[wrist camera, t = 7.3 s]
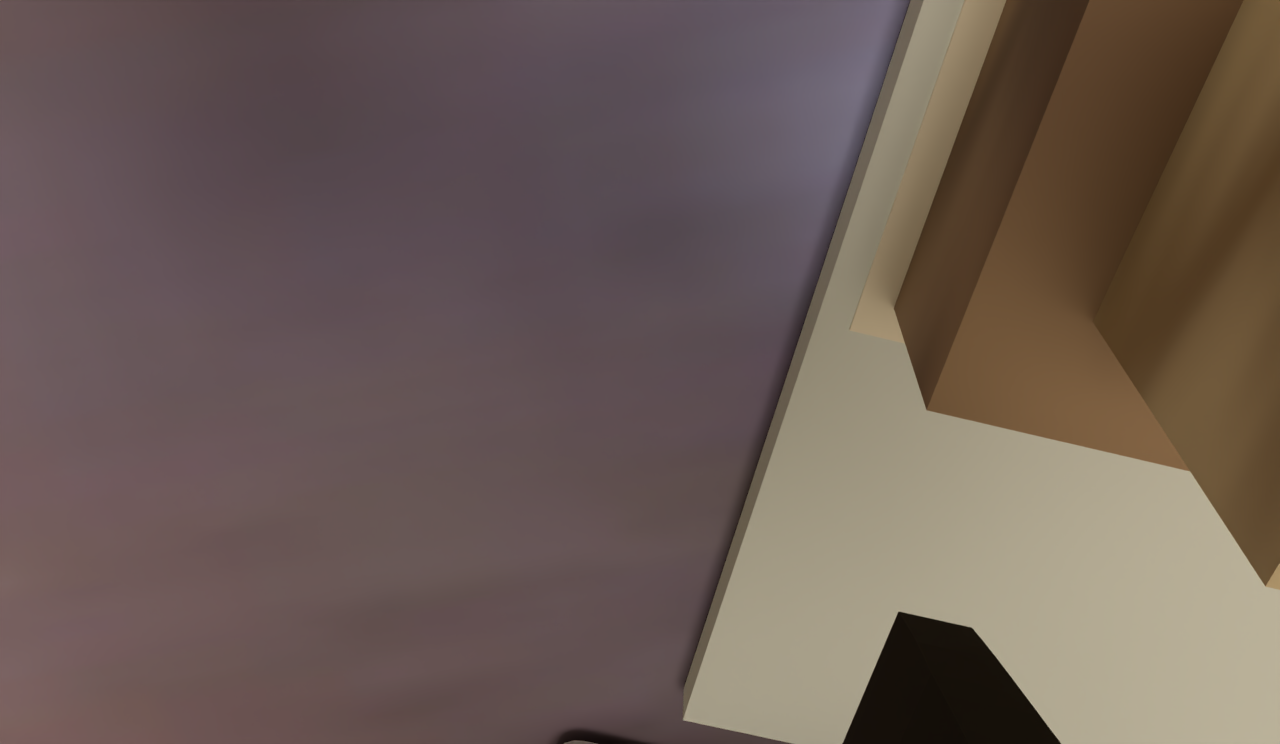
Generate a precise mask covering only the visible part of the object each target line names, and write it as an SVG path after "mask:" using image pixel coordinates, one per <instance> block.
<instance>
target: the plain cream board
mask: <svg viewBox="0 0 1280 744" xmlns="http://www.w3.org/2000/svg"><path fill="white" fill-rule="evenodd" d="M1005 3H1006V0H911V1H910V4H909V7H908V10H907V13H906V16H905V19H904V22H903V25H902V28H901V31H900V34H899V37H898V40H897V43H896V46H895V49H894V52H893V55H892V58H891V61H890V64H889V68H888V71H887V74H886V77H885V80H884V83H883V86H882V89H881V92H880V95H879V98H878V101H877V104H876V107H875V110H874V113H873V116H872V119H871V122H870V125H869V128H868V131H867V134H866V137H865V140H864V143H863V146H862V149H861V152H860V155H859V158H858V161H857V165H856V168H855V171H854V174H853V177H852V180H851V183H850V186H849V189H848V192H847V195H846V198H845V201H844V204H843V207H842V210H841V213H840V216H839V219H838V222H837V225H836V228H835V231H834V234H833V237H832V240H831V243H830V246H829V249H828V252H827V255H826V259H825V262H824V265H823V268H822V271H821V274H820V277H819V280H818V283H817V286H816V289H815V292H814V295H813V298H812V301H811V304H810V307H809V310H808V313H807V316H806V319H805V322H804V325H803V328H802V331H801V334H800V337H799V340H798V343H797V346H796V349H795V352H794V356H793V359H792V362H791V365H790V368H789V371H788V374H787V377H786V380H785V383H784V386H783V389H782V392H781V395H780V398H779V401H778V404H777V407H776V410H775V413H774V416H773V419H772V422H771V425H770V428H769V431H768V434H767V437H766V440H765V443H764V446H763V450H762V453H761V456H760V459H759V462H758V465H757V468H756V471H755V474H754V477H753V480H752V483H751V486H750V489H749V492H748V495H747V498H746V501H745V504H744V507H743V510H742V513H741V516H740V519H739V522H738V525H737V528H736V531H735V534H734V537H733V540H732V543H731V547H730V550H729V553H728V556H727V559H726V562H725V565H724V568H723V571H722V574H721V577H720V580H719V583H718V586H717V589H716V592H715V595H714V598H713V601H712V604H711V607H710V610H709V613H708V616H707V619H706V622H705V625H704V628H703V631H702V634H701V637H700V641H699V644H698V647H697V650H696V653H695V656H694V659H693V662H692V665H691V668H690V671H689V674H688V677H687V680H686V683H685V686H684V693H683V720H685V721H689V722H694V723H699V724H703V725H708V726H713V727H717V728H722V729H727V730H732V731H736V732H741V733H746V734H750V735H755V736H760V737H764V738H769V739H774V740H779V741H783V742H788V743H793V744H843V741H844V739H845V737H846V734H847V732H848V729H849V727H850V725H851V722H852V720H853V718H854V715H855V713H856V711H857V708H858V706H859V703H860V701H861V699H862V696H863V694H864V692H865V689H866V687H867V685H868V682H869V680H870V677H871V675H872V673H873V670H874V668H875V666H876V663H877V661H878V659H879V656H880V654H881V651H882V649H883V647H884V644H885V642H886V640H887V637H888V635H889V633H890V630H891V628H892V625H893V623H894V621H895V618H896V616H897V614H898V611H899V612H904V613H908V614H913V615H917V616H922V617H926V618H931V619H935V620H940V621H944V622H949V623H953V624H958V625H962V626H967V627H972V628H973V629H974V631H975V632H976V633H977V634H978V635H979V637H980V638H981V639H982V640H983V641H984V643H985V644H986V645H987V646H988V648H989V649H990V650H991V651H992V653H993V654H994V655H995V657H996V658H997V659H998V660H999V662H1000V663H1001V664H1002V666H1003V667H1004V668H1005V670H1006V671H1007V672H1008V674H1009V675H1010V676H1011V677H1012V679H1013V680H1014V681H1015V683H1016V684H1017V685H1018V687H1019V688H1020V689H1021V691H1022V692H1023V693H1024V695H1025V696H1026V697H1027V699H1028V700H1029V701H1030V703H1031V704H1032V705H1033V707H1034V708H1035V709H1036V711H1037V712H1038V713H1039V715H1040V716H1041V717H1042V719H1043V720H1044V721H1045V723H1046V724H1047V725H1048V727H1049V728H1050V729H1051V731H1052V732H1053V733H1054V735H1055V736H1056V737H1057V739H1058V740H1059V741H1060V743H1061V744H1280V590H1278V589H1274V588H1270V587H1265V585H1264V584H1263V582H1262V581H1261V579H1260V578H1259V576H1258V575H1257V573H1256V572H1255V570H1254V568H1253V567H1252V565H1251V564H1250V562H1249V561H1248V559H1247V558H1246V556H1245V555H1244V553H1243V552H1242V550H1241V549H1240V547H1239V545H1238V544H1237V542H1236V541H1235V539H1234V538H1233V536H1232V535H1231V533H1230V532H1229V530H1228V529H1227V527H1226V526H1225V524H1224V522H1223V521H1222V519H1221V518H1220V516H1219V515H1218V513H1217V512H1216V510H1215V509H1214V507H1213V506H1212V504H1211V503H1210V501H1209V499H1208V498H1207V496H1206V495H1205V493H1204V492H1203V490H1202V489H1201V487H1200V486H1199V484H1198V483H1197V481H1196V480H1195V478H1194V476H1193V475H1192V473H1191V472H1190V471H1186V470H1182V469H1177V468H1173V467H1169V466H1165V465H1160V464H1156V463H1152V462H1147V461H1143V460H1139V459H1134V458H1130V457H1126V456H1121V455H1117V454H1113V453H1108V452H1104V451H1100V450H1096V449H1091V448H1087V447H1083V446H1078V445H1074V444H1070V443H1065V442H1061V441H1057V440H1052V439H1048V438H1044V437H1040V436H1035V435H1031V434H1027V433H1022V432H1018V431H1014V430H1009V429H1005V428H1001V427H996V426H992V425H988V424H983V423H979V422H975V421H971V420H966V419H962V418H958V417H953V416H949V415H945V414H940V413H936V412H932V411H927V410H926V407H925V404H924V401H923V398H922V395H921V392H920V388H919V385H918V382H917V379H916V376H915V373H914V370H913V367H912V364H911V360H910V357H909V354H908V351H907V348H906V345H905V342H904V339H903V336H902V332H901V329H900V326H899V323H898V320H897V317H896V314H895V311H894V306H895V303H896V300H897V298H898V295H899V292H900V290H901V287H902V284H903V281H904V279H905V276H906V273H907V270H908V268H909V265H910V262H911V259H912V257H913V254H914V251H915V249H916V246H917V243H918V240H919V238H920V235H921V232H922V229H923V227H924V224H925V221H926V218H927V216H928V213H929V210H930V208H931V205H932V202H933V199H934V197H935V194H936V191H937V188H938V186H939V183H940V180H941V178H942V175H943V172H944V169H945V167H946V164H947V161H948V158H949V156H950V153H951V150H952V147H953V145H954V142H955V139H956V137H957V134H958V131H959V128H960V126H961V123H962V120H963V117H964V115H965V112H966V109H967V106H968V104H969V101H970V98H971V96H972V93H973V90H974V87H975V85H976V82H977V79H978V76H979V74H980V71H981V68H982V66H983V63H984V60H985V57H986V55H987V52H988V49H989V46H990V44H991V41H992V38H993V35H994V33H995V30H996V27H997V25H998V22H999V19H1000V16H1001V14H1002V11H1003V8H1004V5H1005Z"/></svg>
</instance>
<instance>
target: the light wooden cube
mask: <svg viewBox="0 0 1280 744" xmlns="http://www.w3.org/2000/svg"><path fill="white" fill-rule="evenodd" d="M1093 323H1094V325H1095V326H1096V328H1097V329H1098V331H1099V332H1100V334H1101V335H1102V337H1103V339H1104V340H1105V342H1106V343H1107V345H1108V346H1109V348H1110V349H1111V351H1112V352H1113V354H1114V355H1115V357H1116V358H1117V360H1118V362H1119V363H1120V365H1121V366H1122V368H1123V369H1124V371H1125V372H1126V374H1127V375H1128V377H1129V378H1130V380H1131V381H1132V383H1133V385H1134V386H1135V388H1136V389H1137V391H1138V392H1139V394H1140V395H1141V397H1142V398H1143V400H1144V401H1145V403H1146V404H1147V406H1148V408H1149V409H1150V411H1151V412H1152V414H1153V415H1154V417H1155V418H1156V420H1157V421H1158V423H1159V424H1160V426H1161V427H1162V429H1163V431H1164V432H1165V434H1166V435H1167V437H1168V438H1169V440H1170V441H1171V443H1172V444H1173V446H1174V447H1175V449H1176V450H1177V452H1178V453H1179V455H1180V457H1181V458H1182V460H1183V461H1184V463H1185V464H1186V466H1187V467H1188V469H1189V470H1190V472H1191V473H1192V475H1193V476H1194V478H1195V480H1196V481H1197V483H1198V484H1199V486H1200V487H1201V489H1202V490H1203V492H1204V493H1205V495H1206V496H1207V498H1208V499H1209V501H1210V503H1211V504H1212V506H1213V507H1214V509H1215V510H1216V512H1217V513H1218V515H1219V516H1220V518H1221V519H1222V521H1223V522H1224V524H1225V526H1226V527H1227V529H1228V530H1229V532H1230V533H1231V535H1232V536H1233V538H1234V539H1235V541H1236V542H1237V544H1238V545H1239V547H1240V549H1241V550H1242V552H1243V553H1244V555H1245V556H1246V558H1247V559H1248V561H1249V562H1250V564H1251V565H1252V567H1253V568H1254V570H1255V572H1256V573H1257V575H1258V576H1259V578H1260V579H1261V581H1262V582H1263V584H1264V585H1265V587H1270V588H1274V589H1278V590H1280V0H1244V1H1243V3H1242V5H1241V7H1240V9H1239V11H1238V13H1237V16H1236V18H1235V20H1234V22H1233V24H1232V26H1231V28H1230V30H1229V33H1228V35H1227V37H1226V39H1225V41H1224V43H1223V45H1222V48H1221V50H1220V52H1219V54H1218V56H1217V58H1216V60H1215V62H1214V65H1213V67H1212V69H1211V71H1210V73H1209V75H1208V77H1207V80H1206V82H1205V84H1204V86H1203V88H1202V90H1201V92H1200V94H1199V97H1198V99H1197V101H1196V103H1195V105H1194V107H1193V109H1192V111H1191V114H1190V116H1189V118H1188V120H1187V122H1186V124H1185V126H1184V129H1183V131H1182V133H1181V135H1180V137H1179V139H1178V141H1177V143H1176V146H1175V148H1174V150H1173V152H1172V154H1171V156H1170V158H1169V161H1168V163H1167V165H1166V167H1165V169H1164V171H1163V173H1162V175H1161V178H1160V180H1159V182H1158V184H1157V186H1156V188H1155V190H1154V193H1153V195H1152V197H1151V199H1150V201H1149V203H1148V205H1147V207H1146V210H1145V212H1144V214H1143V216H1142V218H1141V220H1140V222H1139V224H1138V227H1137V229H1136V231H1135V233H1134V235H1133V237H1132V239H1131V242H1130V244H1129V246H1128V248H1127V250H1126V252H1125V254H1124V256H1123V259H1122V261H1121V263H1120V265H1119V267H1118V269H1117V271H1116V274H1115V276H1114V278H1113V280H1112V282H1111V284H1110V286H1109V288H1108V291H1107V293H1106V295H1105V297H1104V299H1103V301H1102V303H1101V306H1100V308H1099V310H1098V312H1097V314H1096V316H1095V318H1094V320H1093Z"/></svg>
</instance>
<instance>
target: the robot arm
mask: <svg viewBox="0 0 1280 744" xmlns="http://www.w3.org/2000/svg"><path fill="white" fill-rule="evenodd" d="M564 744H597V743H592V742H587V741H576V740H574V741H570V742H566V743H564ZM843 744H1061V743H1060V741H1059V740H1058V739H1057V737H1056V736H1055V735H1054V733H1053V732H1052V731H1051V729H1050V728H1049V727H1048V725H1047V724H1046V723H1045V721H1044V720H1043V719H1042V717H1041V716H1040V715H1039V713H1038V712H1037V711H1036V709H1035V708H1034V707H1033V705H1032V704H1031V703H1030V701H1029V700H1028V699H1027V697H1026V696H1025V695H1024V693H1023V692H1022V691H1021V689H1020V688H1019V687H1018V685H1017V684H1016V683H1015V681H1014V680H1013V679H1012V677H1011V676H1010V675H1009V674H1008V672H1007V671H1006V670H1005V668H1004V667H1003V666H1002V664H1001V663H1000V662H999V660H998V659H997V658H996V657H995V655H994V654H993V653H992V651H991V650H990V649H989V648H988V646H987V645H986V644H985V643H984V641H983V640H982V639H981V638H980V637H979V635H978V634H977V633H976V632H975V631H974V629H973V628H972V627H967V626H962V625H958V624H953V623H949V622H944V621H940V620H935V619H931V618H926V617H922V616H917V615H913V614H908V613H904V612H899V611H898V614H897V616H896V618H895V621H894V623H893V625H892V628H891V630H890V633H889V635H888V637H887V640H886V642H885V644H884V647H883V649H882V651H881V654H880V656H879V659H878V661H877V663H876V666H875V668H874V670H873V673H872V675H871V677H870V680H869V682H868V685H867V687H866V689H865V692H864V694H863V696H862V699H861V701H860V703H859V706H858V708H857V711H856V713H855V715H854V718H853V720H852V722H851V725H850V727H849V729H848V732H847V734H846V737H845V739H844V741H843Z"/></svg>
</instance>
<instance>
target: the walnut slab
mask: <svg viewBox="0 0 1280 744" xmlns="http://www.w3.org/2000/svg"><path fill="white" fill-rule="evenodd" d="M1243 1H1244V0H1006V3H1005V5H1004V8H1003V11H1002V14H1001V16H1000V19H999V22H998V25H997V27H996V30H995V33H994V35H993V38H992V41H991V44H990V46H989V49H988V52H987V55H986V57H985V60H984V63H983V66H982V68H981V71H980V74H979V76H978V79H977V82H976V85H975V87H974V90H973V93H972V96H971V98H970V101H969V104H968V106H967V109H966V112H965V115H964V117H963V120H962V123H961V126H960V128H959V131H958V134H957V137H956V139H955V142H954V145H953V147H952V150H951V153H950V156H949V158H948V161H947V164H946V167H945V169H944V172H943V175H942V178H941V180H940V183H939V186H938V188H937V191H936V194H935V197H934V199H933V202H932V205H931V208H930V210H929V213H928V216H927V218H926V221H925V224H924V227H923V229H922V232H921V235H920V238H919V240H918V243H917V246H916V249H915V251H914V254H913V257H912V259H911V262H910V265H909V268H908V270H907V273H906V276H905V279H904V281H903V284H902V287H901V290H900V292H899V295H898V298H897V300H896V303H895V306H894V311H895V314H896V317H897V320H898V323H899V326H900V329H901V332H902V336H903V339H904V342H905V345H906V348H907V351H908V354H909V357H910V360H911V364H912V367H913V370H914V373H915V376H916V379H917V382H918V385H919V388H920V392H921V395H922V398H923V401H924V404H925V407H926V410H927V411H932V412H936V413H940V414H945V415H949V416H953V417H958V418H962V419H966V420H971V421H975V422H979V423H983V424H988V425H992V426H996V427H1001V428H1005V429H1009V430H1014V431H1018V432H1022V433H1027V434H1031V435H1035V436H1040V437H1044V438H1048V439H1052V440H1057V441H1061V442H1065V443H1070V444H1074V445H1078V446H1083V447H1087V448H1091V449H1096V450H1100V451H1104V452H1108V453H1113V454H1117V455H1121V456H1126V457H1130V458H1134V459H1139V460H1143V461H1147V462H1152V463H1156V464H1160V465H1165V466H1169V467H1173V468H1177V469H1182V470H1186V471H1190V470H1189V469H1188V467H1187V466H1186V464H1185V463H1184V461H1183V460H1182V458H1181V457H1180V455H1179V453H1178V452H1177V450H1176V449H1175V447H1174V446H1173V444H1172V443H1171V441H1170V440H1169V438H1168V437H1167V435H1166V434H1165V432H1164V431H1163V429H1162V427H1161V426H1160V424H1159V423H1158V421H1157V420H1156V418H1155V417H1154V415H1153V414H1152V412H1151V411H1150V409H1149V408H1148V406H1147V404H1146V403H1145V401H1144V400H1143V398H1142V397H1141V395H1140V394H1139V392H1138V391H1137V389H1136V388H1135V386H1134V385H1133V383H1132V381H1131V380H1130V378H1129V377H1128V375H1127V374H1126V372H1125V371H1124V369H1123V368H1122V366H1121V365H1120V363H1119V362H1118V360H1117V358H1116V357H1115V355H1114V354H1113V352H1112V351H1111V349H1110V348H1109V346H1108V345H1107V343H1106V342H1105V340H1104V339H1103V337H1102V335H1101V334H1100V332H1099V331H1098V329H1097V328H1096V326H1095V325H1094V323H1093V320H1094V318H1095V316H1096V314H1097V312H1098V310H1099V308H1100V306H1101V303H1102V301H1103V299H1104V297H1105V295H1106V293H1107V291H1108V288H1109V286H1110V284H1111V282H1112V280H1113V278H1114V276H1115V274H1116V271H1117V269H1118V267H1119V265H1120V263H1121V261H1122V259H1123V256H1124V254H1125V252H1126V250H1127V248H1128V246H1129V244H1130V242H1131V239H1132V237H1133V235H1134V233H1135V231H1136V229H1137V227H1138V224H1139V222H1140V220H1141V218H1142V216H1143V214H1144V212H1145V210H1146V207H1147V205H1148V203H1149V201H1150V199H1151V197H1152V195H1153V193H1154V190H1155V188H1156V186H1157V184H1158V182H1159V180H1160V178H1161V175H1162V173H1163V171H1164V169H1165V167H1166V165H1167V163H1168V161H1169V158H1170V156H1171V154H1172V152H1173V150H1174V148H1175V146H1176V143H1177V141H1178V139H1179V137H1180V135H1181V133H1182V131H1183V129H1184V126H1185V124H1186V122H1187V120H1188V118H1189V116H1190V114H1191V111H1192V109H1193V107H1194V105H1195V103H1196V101H1197V99H1198V97H1199V94H1200V92H1201V90H1202V88H1203V86H1204V84H1205V82H1206V80H1207V77H1208V75H1209V73H1210V71H1211V69H1212V67H1213V65H1214V62H1215V60H1216V58H1217V56H1218V54H1219V52H1220V50H1221V48H1222V45H1223V43H1224V41H1225V39H1226V37H1227V35H1228V33H1229V30H1230V28H1231V26H1232V24H1233V22H1234V20H1235V18H1236V16H1237V13H1238V11H1239V9H1240V7H1241V5H1242V3H1243Z"/></svg>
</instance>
